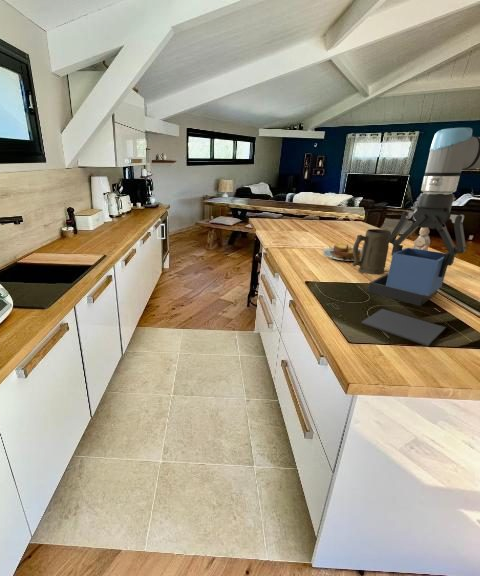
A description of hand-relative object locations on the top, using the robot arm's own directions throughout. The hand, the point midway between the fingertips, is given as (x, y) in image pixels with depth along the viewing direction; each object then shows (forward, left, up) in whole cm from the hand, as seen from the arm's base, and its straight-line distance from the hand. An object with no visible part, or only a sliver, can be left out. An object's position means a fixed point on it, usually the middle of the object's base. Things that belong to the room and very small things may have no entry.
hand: (417, 271), depth 91 cm
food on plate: (+50, -65, -18) cm, 84 cm away
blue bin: (0, 0, -5) cm, 5 cm away
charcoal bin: (+10, -27, -18) cm, 34 cm away
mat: (0, 0, -18) cm, 18 cm away
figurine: (+22, -87, -18) cm, 92 cm away
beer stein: (+31, -45, -18) cm, 57 cm away
